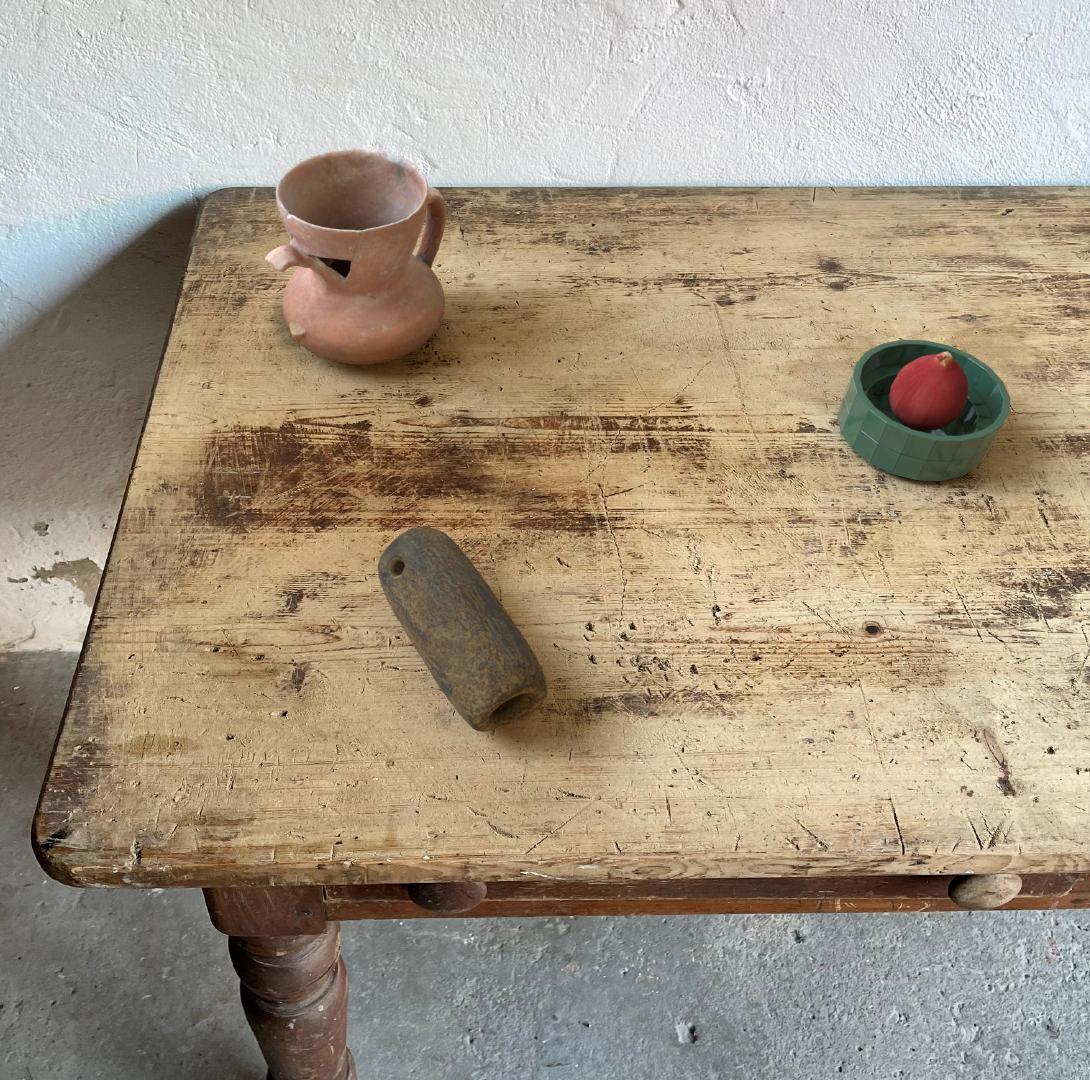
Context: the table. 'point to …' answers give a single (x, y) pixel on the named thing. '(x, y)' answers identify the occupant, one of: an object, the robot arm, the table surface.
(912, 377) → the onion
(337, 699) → the table surface
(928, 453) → the bowl
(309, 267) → the ceramic jug
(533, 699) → the stone weight
